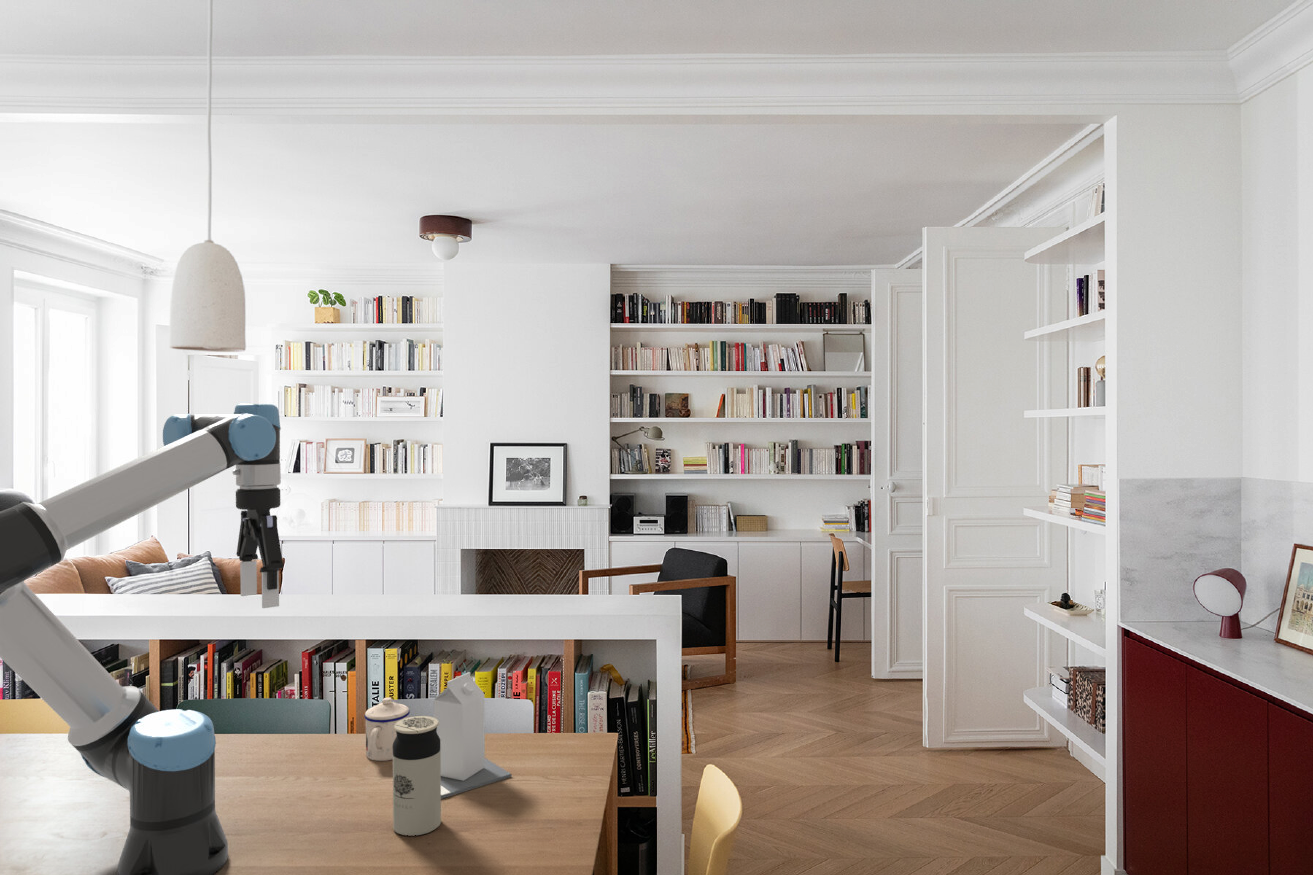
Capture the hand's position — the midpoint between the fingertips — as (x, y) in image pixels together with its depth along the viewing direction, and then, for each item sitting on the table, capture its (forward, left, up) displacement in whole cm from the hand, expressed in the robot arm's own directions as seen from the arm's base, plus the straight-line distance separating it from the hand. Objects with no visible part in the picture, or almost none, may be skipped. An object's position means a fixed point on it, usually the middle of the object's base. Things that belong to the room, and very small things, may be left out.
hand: (259, 600), depth 158 cm
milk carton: (-15, -33, -36) cm, 51 cm away
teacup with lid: (+3, -25, -37) cm, 45 cm away
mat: (-14, -32, -37) cm, 51 cm away
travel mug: (-30, -17, -37) cm, 51 cm away
